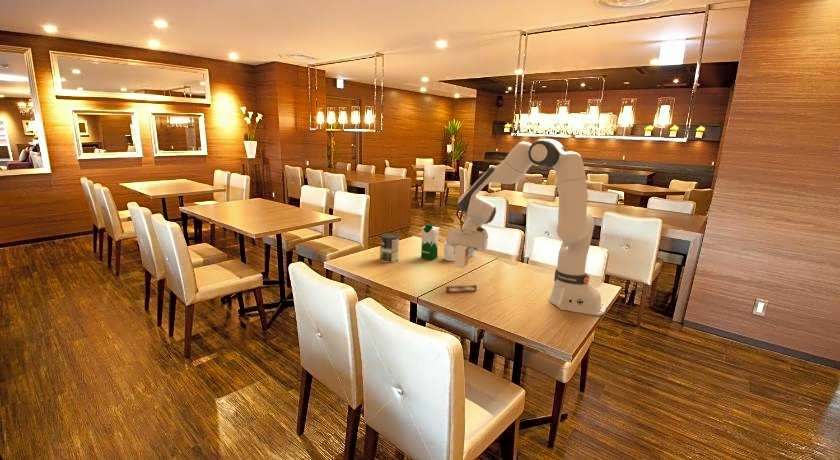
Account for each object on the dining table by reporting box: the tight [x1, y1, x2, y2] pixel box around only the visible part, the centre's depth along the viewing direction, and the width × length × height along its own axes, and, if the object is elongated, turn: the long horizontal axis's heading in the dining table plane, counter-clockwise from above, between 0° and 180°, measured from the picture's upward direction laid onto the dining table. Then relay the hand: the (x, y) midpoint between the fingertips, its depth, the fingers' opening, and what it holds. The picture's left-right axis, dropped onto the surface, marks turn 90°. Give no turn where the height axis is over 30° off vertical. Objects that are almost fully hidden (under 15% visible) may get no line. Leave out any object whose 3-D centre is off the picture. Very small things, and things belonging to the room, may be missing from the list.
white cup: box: [443, 240, 455, 262], centre depth 218 cm, size 8×8×10 cm
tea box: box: [454, 245, 469, 269], centre depth 181 cm, size 5×4×10 cm
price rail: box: [445, 284, 478, 294], centre depth 173 cm, size 14×2×2 cm, turn 104°
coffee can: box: [379, 232, 400, 263], centre depth 213 cm, size 10×10×14 cm
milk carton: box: [420, 223, 440, 261], centre depth 218 cm, size 9×9×20 cm
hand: (461, 255), depth 180 cm, fingers closed on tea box, 5 cm apart
